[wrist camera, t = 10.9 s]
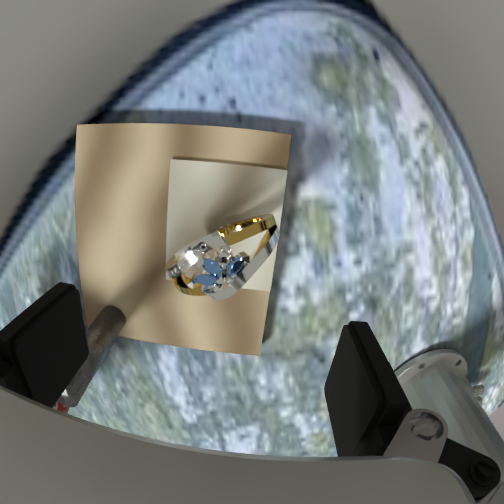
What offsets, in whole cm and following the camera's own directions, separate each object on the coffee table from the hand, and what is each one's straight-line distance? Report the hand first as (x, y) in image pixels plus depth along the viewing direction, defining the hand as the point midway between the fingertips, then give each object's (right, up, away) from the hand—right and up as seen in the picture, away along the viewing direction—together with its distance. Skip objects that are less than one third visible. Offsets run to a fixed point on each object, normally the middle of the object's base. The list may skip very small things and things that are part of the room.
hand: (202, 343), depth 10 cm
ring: (0, +5, +12) cm, 13 cm away
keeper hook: (-10, -1, +14) cm, 18 cm away
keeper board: (-5, +4, +14) cm, 15 cm away
